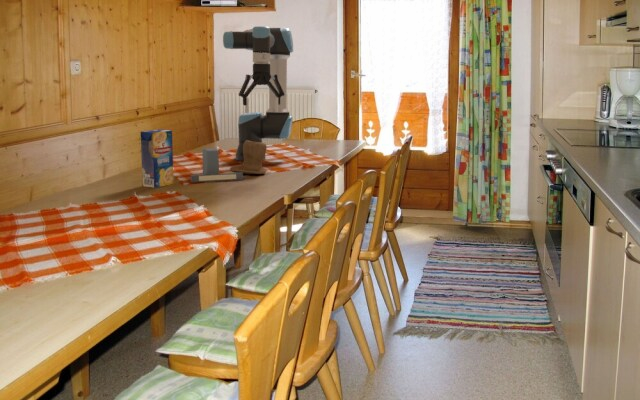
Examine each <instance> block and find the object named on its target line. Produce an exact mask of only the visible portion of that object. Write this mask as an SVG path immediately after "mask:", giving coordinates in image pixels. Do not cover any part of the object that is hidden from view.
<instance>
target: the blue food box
mask: <svg viewBox="0 0 640 400" xmlns="http://www.w3.org/2000/svg"><path fill="white" fill-rule="evenodd" d="M173 146H174V145H173V130H169V129H152V130H144V131H140V155H141V177H142V178H141V179H142V181H141V182H142V183H141V184H142V187H148V188H149V187H150V188H160V187H164V186H169V185H174V184H175V182H174V152H173V151H174V150H173V149H174V148H173Z"/></svg>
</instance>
